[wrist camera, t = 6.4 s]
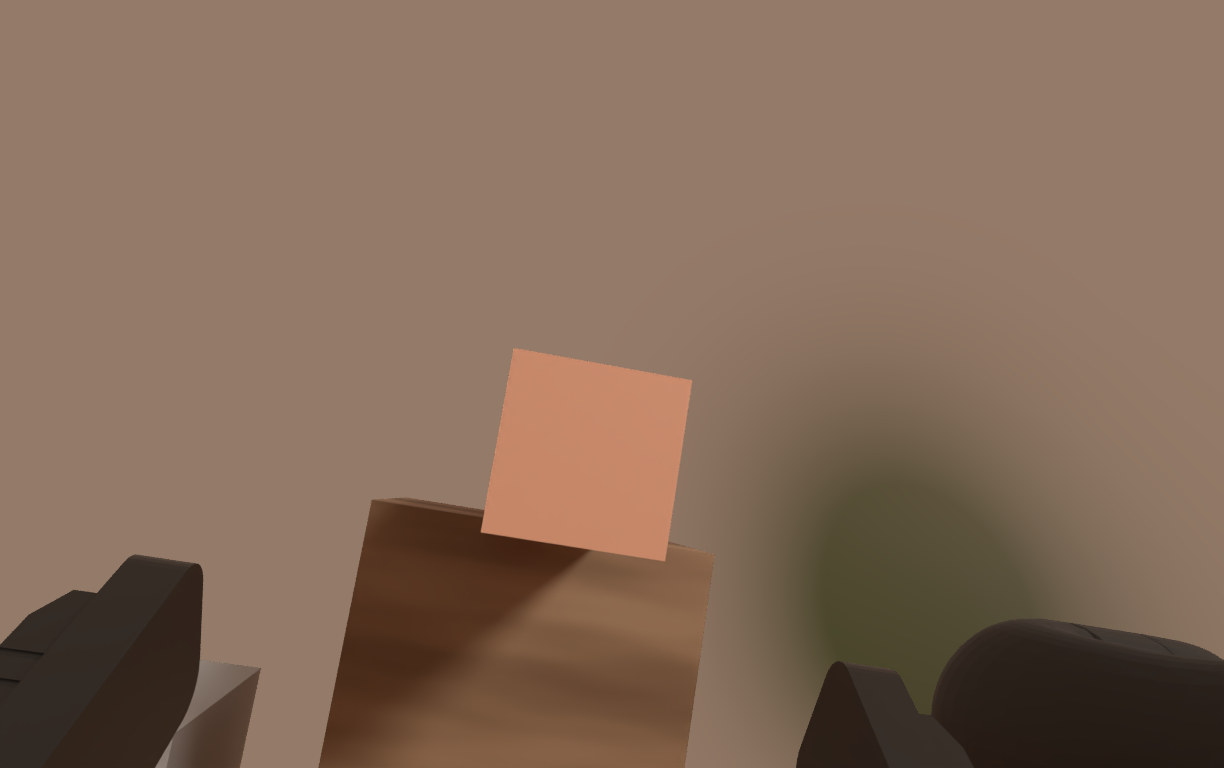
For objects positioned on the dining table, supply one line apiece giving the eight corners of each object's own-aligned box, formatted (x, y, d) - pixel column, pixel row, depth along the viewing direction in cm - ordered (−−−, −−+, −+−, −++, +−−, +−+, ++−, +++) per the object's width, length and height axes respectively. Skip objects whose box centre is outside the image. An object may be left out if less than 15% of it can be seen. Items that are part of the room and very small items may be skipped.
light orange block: (487, 509, 38) (502, 429, 38) (567, 522, 38) (580, 442, 39) (480, 532, 16) (514, 348, 17) (664, 561, 17) (692, 380, 17)
